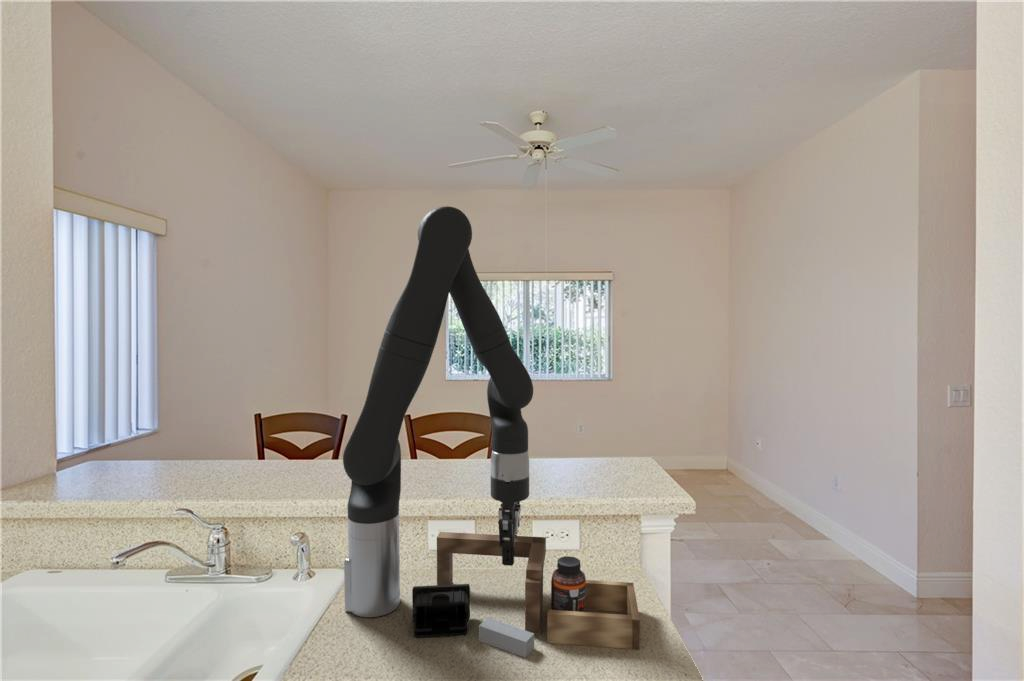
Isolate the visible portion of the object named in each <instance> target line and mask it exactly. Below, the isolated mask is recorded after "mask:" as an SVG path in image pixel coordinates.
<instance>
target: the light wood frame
mask: <svg viewBox="0 0 1024 681" xmlns="http://www.w3.org/2000/svg"><path fill="white" fill-rule="evenodd" d="M550 582H551V583H550V584H551V587H550V589H551V590H550V607H551V606H552V604H551V603H552V578H551V580H550ZM585 585H586V594H585V610H588V611H589V610H590V611H591V610H592V611H601V612H590V611H589V612H588V611H585V612H577V611H562V610H551V609H547V615H546V616H547V622H546V624H547V625H546V626H547V627H546V629H547V632H546V633H547V634H546V635H547V636H546V637H547V638H546V640H547V641H546V642H547V643H548V644H549V643H550V644H562V645H575V646H589V647H601V648H615V649H626V650H627V649H628V650H629V649H630V650H640V643H641V642H640V640H641V639H640V638H641V637H640V635H641V633H640V632H641V630H640V629H641V627H640V626H641V617H640V613H639V607H638V601H637V597H636V590H635V584H634V582H626V581H625V582H624V581H608V580H594V579H592V580H591V579H586V584H585ZM602 611H603V613H602ZM604 611H605V612H607V611H608V612H619V613H620V612H621V613H626V614H619V613H618V614H617V613H604Z"/></svg>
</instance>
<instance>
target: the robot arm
mask: <svg viewBox="0 0 1024 681" xmlns="http://www.w3.org/2000/svg"><path fill="white" fill-rule="evenodd" d="M472 238H473V229H472V224H471V222H470V219H469V218H468V216H467V215H466V214H465V213H464V212H463V211H462V210H461V209H459V208H457V207H454V206H450V205H449V206H447V205H446V206H439V207H436V208H434V209H432V210H431V211H429V212H428V213H426V215H425V216H424V217H423V218H421V221H420V223H419V225H418V228H417V240H418V242H417V243H418V244H417V248H416V253H415V257H414V259H413V260H414V261H413V266H412V269H411V272H410V275H409V278H408V280H407V283H406V285H405V287H404V289H403V291H402V292H401V295H400V296H399V298H398V300H397V303H396V304H395V306H394V309H393V311H392V312H391V315H390V317H389V319H388V322H387V324H386V328H385V330H384V333H383V337H382V339H381V342H380V346H379V348H378V352H377V356H376V361H375V364H374V368H373V370H372V374H371V378H370V382H369V386H368V391H367V394H366V397H365V398H366V399H365V401H364V405H363V407H362V410H361V412H360V415H359V418H358V420H357V421H356V424H355V426H354V428H353V431H352V432H351V435H350V437H349V439H348V442H347V443H346V446H345V447H344V450H343V454H342V465H343V469H344V472H345V474H346V475H347V476H348V478H349V479H350V480H351V484H350V485H351V487H350V491H349V498H348V502H347V534H348V535H347V537H348V539H347V544H348V545H347V546H348V547H347V550H348V552H347V556H346V558H345V559H344V561H343V570H344V571H343V574H344V575H343V579H344V582H343V583H344V587H343V588H344V611H345V612H350V613H352V614H353V615H355V616H358V617H362V618H376V617H381V616H385V615H388V614H390V613H391V612H394V611H395V610H396V609H397V608H398V607H399V606H400V603H401V598H400V596H401V585H400V583H401V582H400V581H401V575H400V574H401V573H400V572H401V571H400V569H401V568H400V567H401V566H400V565H401V564H400V561H401V560H400V556H401V555H400V499H401V492H402V490H401V489H402V481H401V480H402V450H401V444H400V441H399V437H400V433H401V429H402V425H403V422H404V418H405V416H406V413H407V411H408V409H409V407H410V405H411V403H412V401H413V399H414V397H415V395H416V394H417V391H418V390H419V388H420V386H421V385H422V384H421V383H422V381H423V379H424V377H425V375H426V372H427V369H428V367H429V364H430V362H431V359H432V356H433V353H434V349H435V347H436V344H437V340H438V337H439V333H440V331H441V330H440V329H441V328H442V323H443V320H444V315H445V312H446V311H445V310H446V306H447V301H448V298H449V295H450V298H451V299H452V302H453V304H454V306H455V309H456V311H457V314H458V316H459V319H460V321H461V324H462V326H463V329H464V331H465V334H466V336H467V338H468V341H469V343H470V345H471V347H472V350H473V352H474V354H475V357H476V358H477V361H478V362H479V363H480V364H481V365H482V366H483V367H484V368H485V369H486V370H487V372H488V374H489V376H490V378H489V380H488V382H487V388H486V391H487V392H486V400H487V403H488V404H487V405H488V410H489V411H488V413H489V417H490V421H491V428H492V431H491V455H490V497H491V498H492V499H493V500H495V501H497V502H498V501H499V502H501V503H500V506H499V508H498V519H499V520H498V522H497V524H498V535H499V541H500V542H499V545H500V547H502V556H501V564H502V565H503V566H510V567H511V566H514V563H515V557H514V545H515V536H518V533H519V526H520V525H521V524H520V522H521V510H522V504H521V503H520V502H523V501H525V500H527V499H528V498H529V496H530V456H529V428H528V423H527V422H526V421H525V419H524V417H523V415H522V409H524V408H526V407H527V406H528V405H529V404H530V403H531V401H532V399H533V395H534V385H533V381H532V378H531V375H530V374H529V372H528V370H527V369H526V366H525V365H524V363H523V362H522V360H521V358H520V357H519V356H518V354H517V352H516V351H515V350H514V347H513V346H512V344H511V341H510V338H509V336H508V333H507V331H506V329H505V326H504V323H503V321H502V319H501V317H500V315H499V313H498V311H497V309H496V307H495V304H494V303H493V302H492V300H491V298H490V297H489V294H488V293H487V291H486V289H485V288H484V286H483V283H482V282H481V280H480V278H479V276H478V274H477V271H476V268H475V266H474V263H473V261H472V258H471V253H470V250H469V247H470V246H471V243H472ZM504 538H510V540H504Z"/></svg>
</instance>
